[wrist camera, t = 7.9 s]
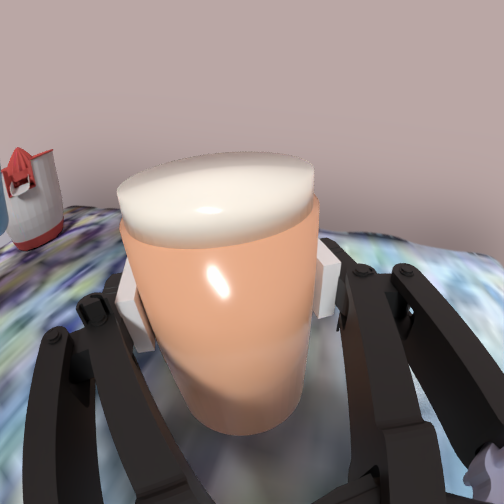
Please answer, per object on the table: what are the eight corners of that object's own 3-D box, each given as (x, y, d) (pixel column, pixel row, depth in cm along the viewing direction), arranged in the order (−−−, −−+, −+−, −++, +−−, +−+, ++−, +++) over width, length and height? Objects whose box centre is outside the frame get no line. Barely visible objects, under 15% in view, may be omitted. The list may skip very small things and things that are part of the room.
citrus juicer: (7, 270, 35) (-26, 165, 25) (14, 240, 47) (-8, 159, 37) (76, 238, 44) (51, 132, 34) (68, 216, 56) (50, 135, 46)
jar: (163, 413, 13) (69, 207, 7) (210, 332, 19) (178, 154, 13) (287, 448, 11) (307, 214, 5) (311, 349, 17) (325, 152, 11)
